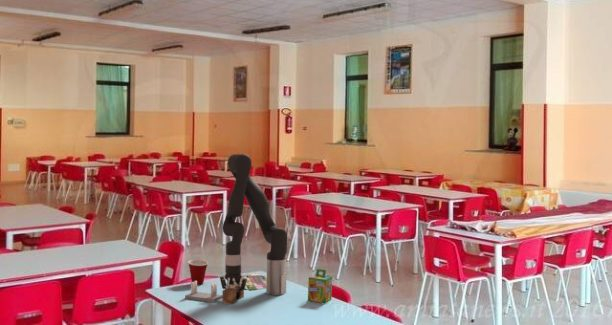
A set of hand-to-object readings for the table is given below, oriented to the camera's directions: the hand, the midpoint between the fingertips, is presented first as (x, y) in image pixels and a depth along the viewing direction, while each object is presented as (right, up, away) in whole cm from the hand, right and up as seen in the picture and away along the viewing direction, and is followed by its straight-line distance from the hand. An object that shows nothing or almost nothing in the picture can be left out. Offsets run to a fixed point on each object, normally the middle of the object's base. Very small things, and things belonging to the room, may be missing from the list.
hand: (233, 298), depth 289 cm
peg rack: (-14, -1, +2) cm, 15 cm away
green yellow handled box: (+42, -2, +2) cm, 42 cm away
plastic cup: (-22, +1, +29) cm, 36 cm away
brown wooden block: (0, -1, 0) cm, 1 cm away
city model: (+7, 0, +29) cm, 30 cm away
